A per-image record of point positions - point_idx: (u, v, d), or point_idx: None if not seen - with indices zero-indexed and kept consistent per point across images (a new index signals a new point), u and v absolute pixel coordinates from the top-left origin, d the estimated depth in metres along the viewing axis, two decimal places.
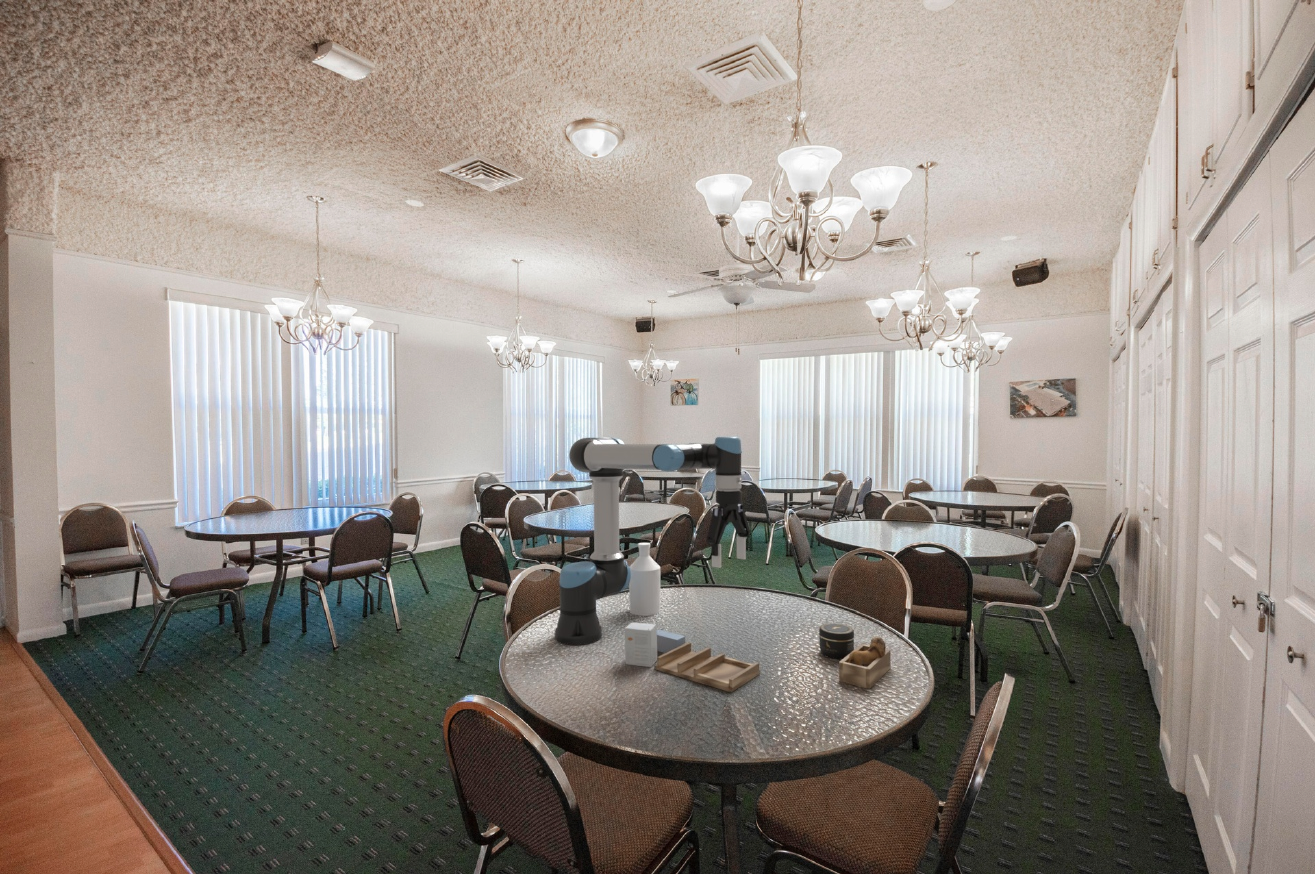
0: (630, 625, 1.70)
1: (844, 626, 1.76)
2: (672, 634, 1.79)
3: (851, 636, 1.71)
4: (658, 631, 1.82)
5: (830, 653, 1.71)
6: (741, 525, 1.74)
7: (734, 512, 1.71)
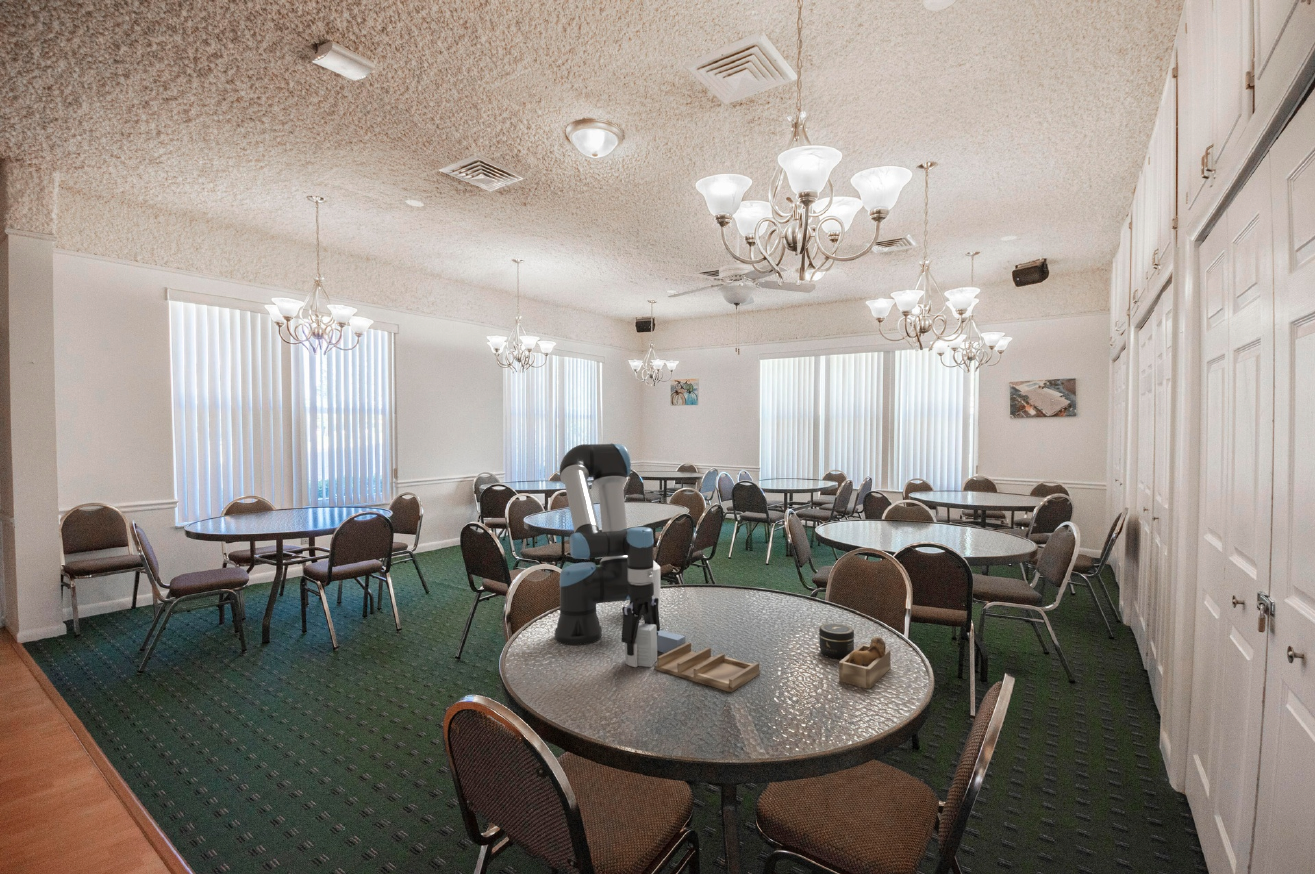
0: None
1: (844, 626, 1.76)
2: (672, 634, 1.79)
3: (851, 636, 1.71)
4: (658, 631, 1.82)
5: (830, 653, 1.71)
6: (651, 621, 1.71)
7: (646, 604, 1.69)
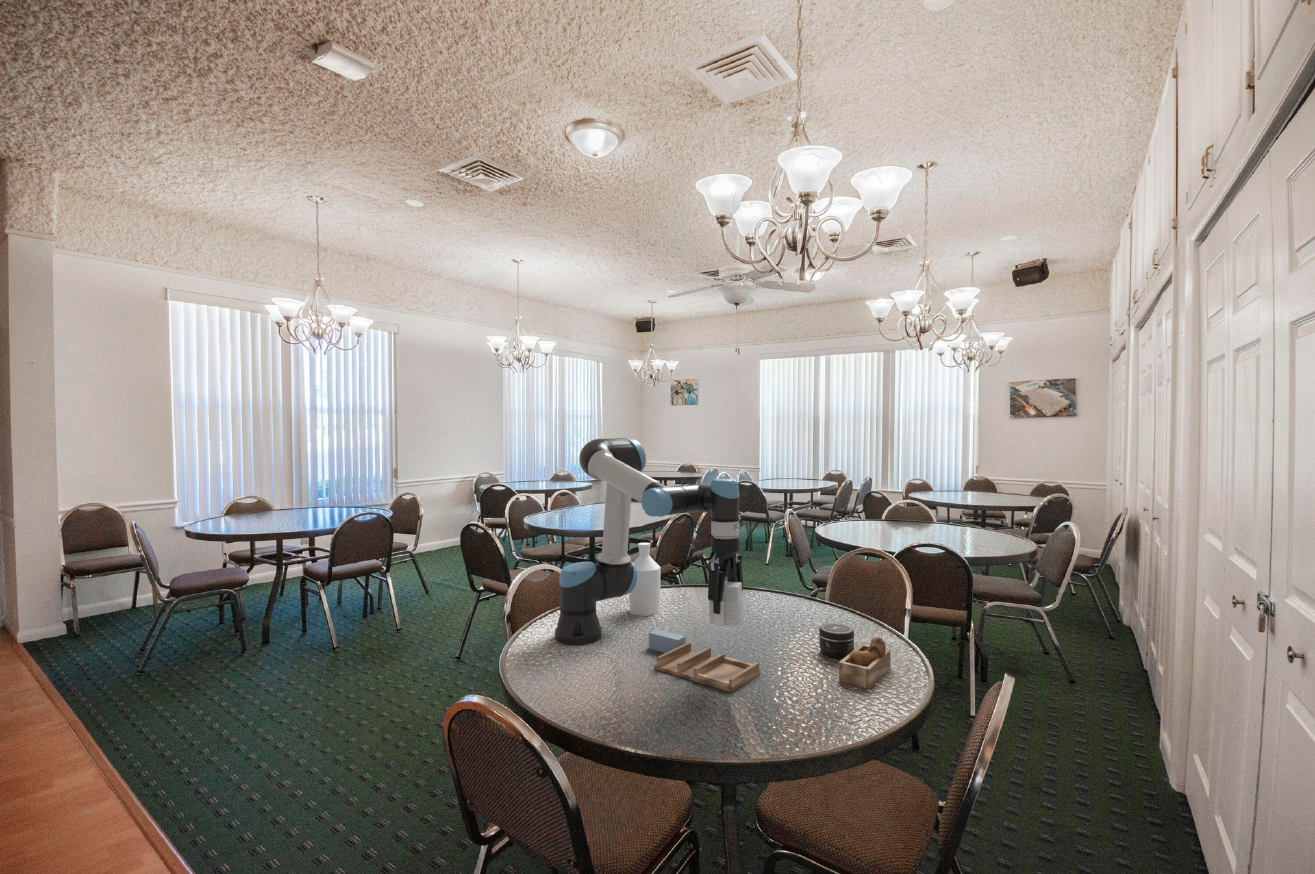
0: None
1: (844, 626, 1.76)
2: (672, 634, 1.79)
3: (851, 636, 1.71)
4: (658, 631, 1.82)
5: (830, 653, 1.71)
6: (736, 579, 1.60)
7: (731, 560, 1.58)
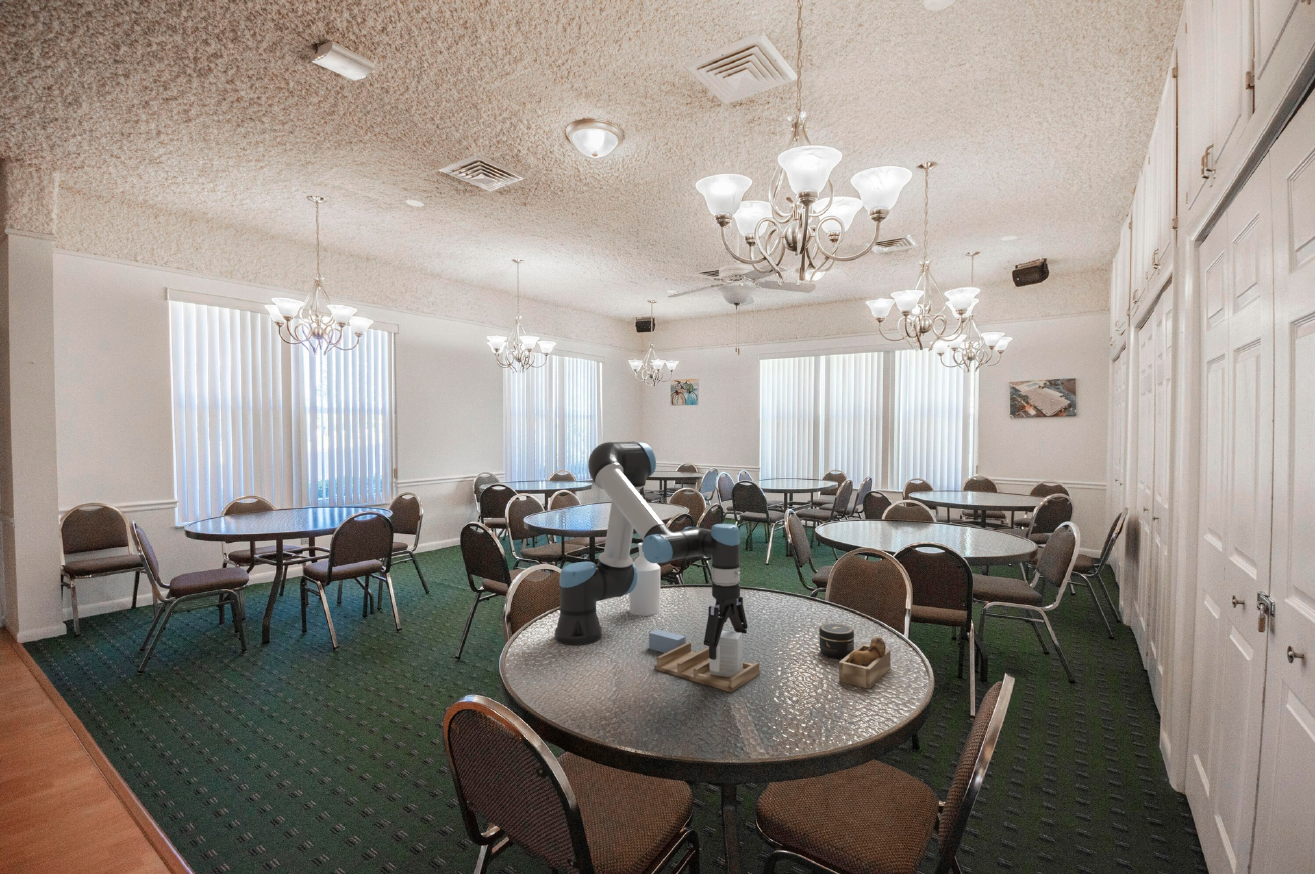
0: None
1: (844, 626, 1.76)
2: (672, 634, 1.79)
3: (851, 636, 1.71)
4: (658, 631, 1.82)
5: (830, 653, 1.71)
6: (738, 620, 1.62)
7: (732, 606, 1.58)
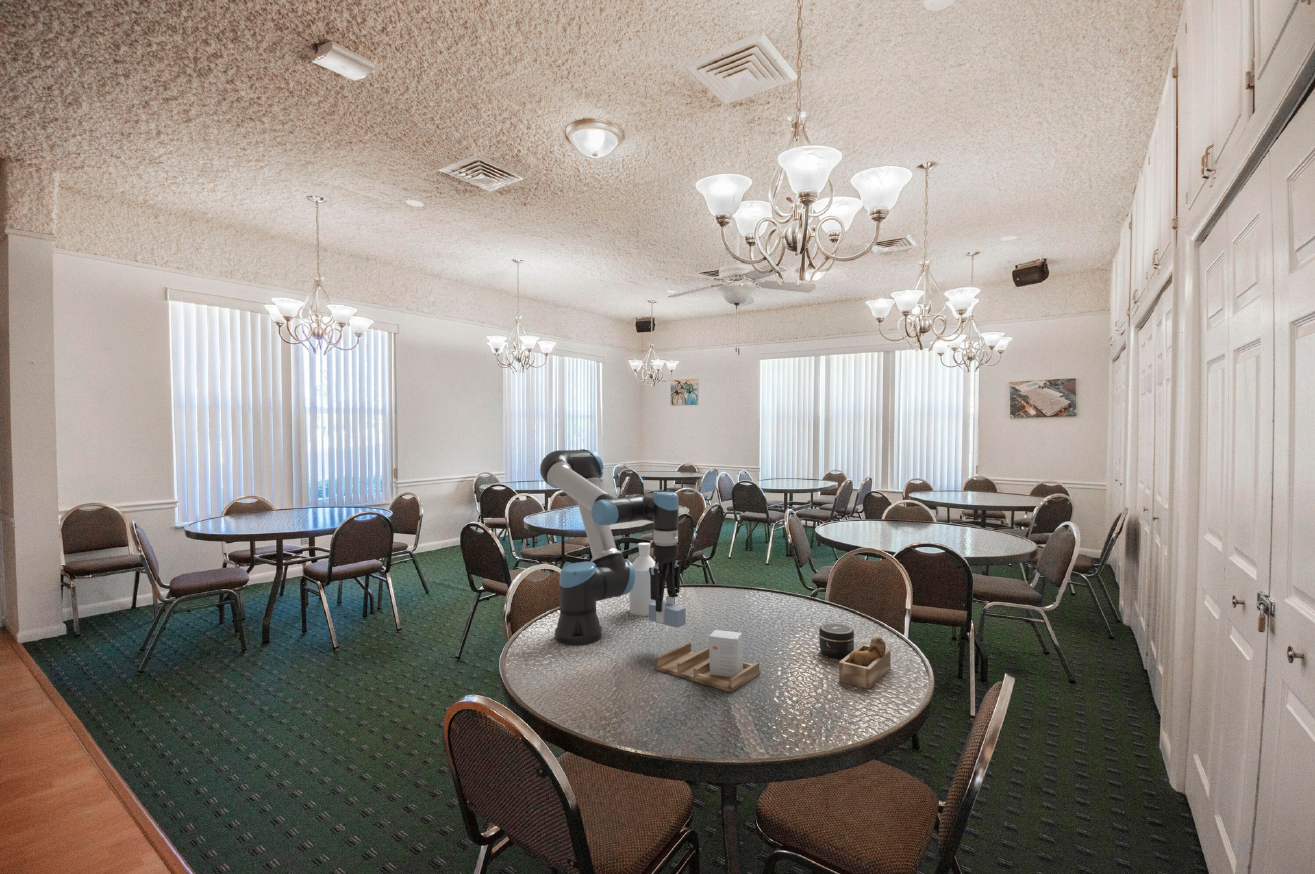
0: (714, 633, 1.60)
1: (844, 626, 1.76)
2: (672, 606, 1.79)
3: (851, 636, 1.71)
4: None
5: (830, 653, 1.71)
6: (673, 582, 1.80)
7: (670, 564, 1.79)
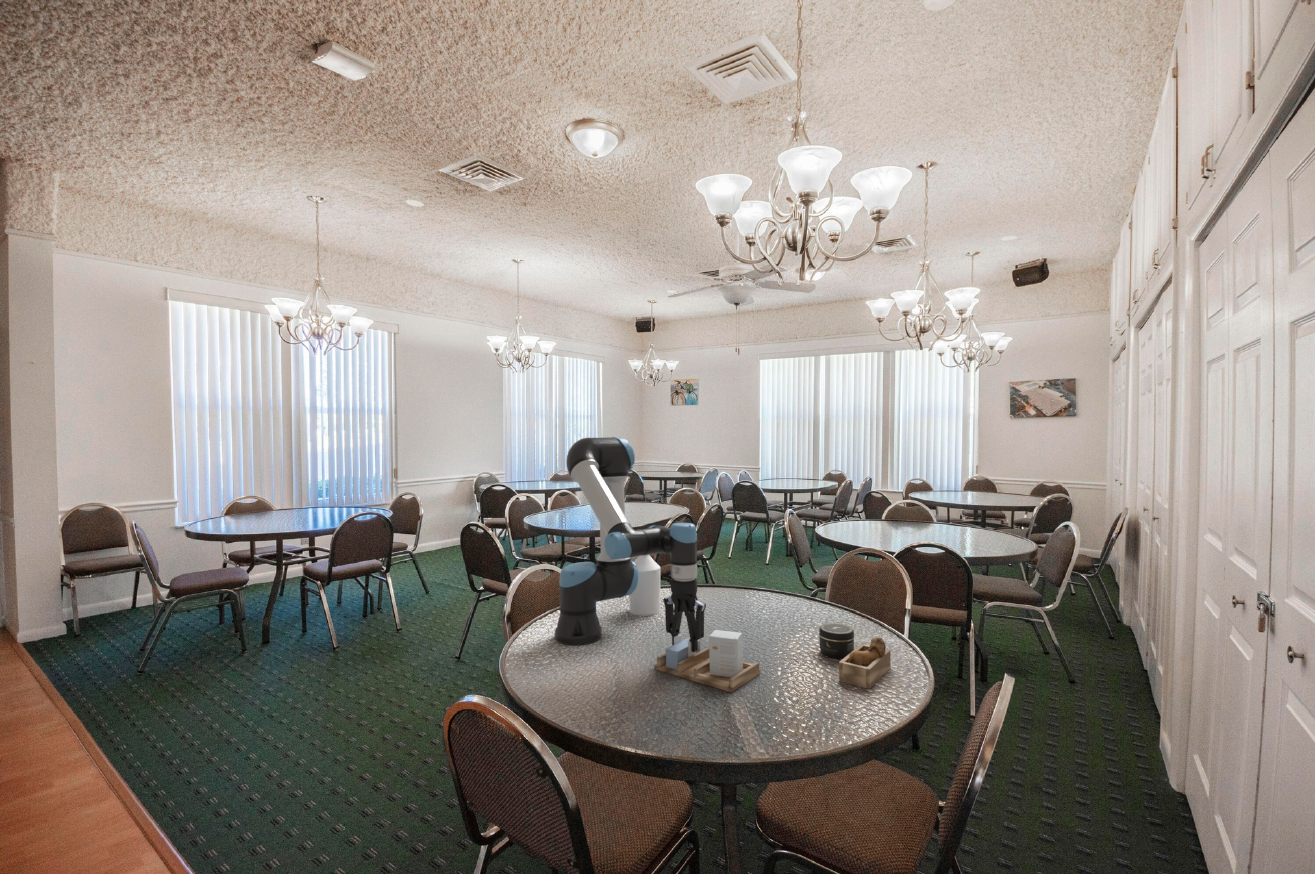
0: (714, 633, 1.60)
1: (844, 626, 1.76)
2: (683, 646, 1.65)
3: (851, 636, 1.71)
4: None
5: (830, 653, 1.71)
6: (689, 623, 1.65)
7: None
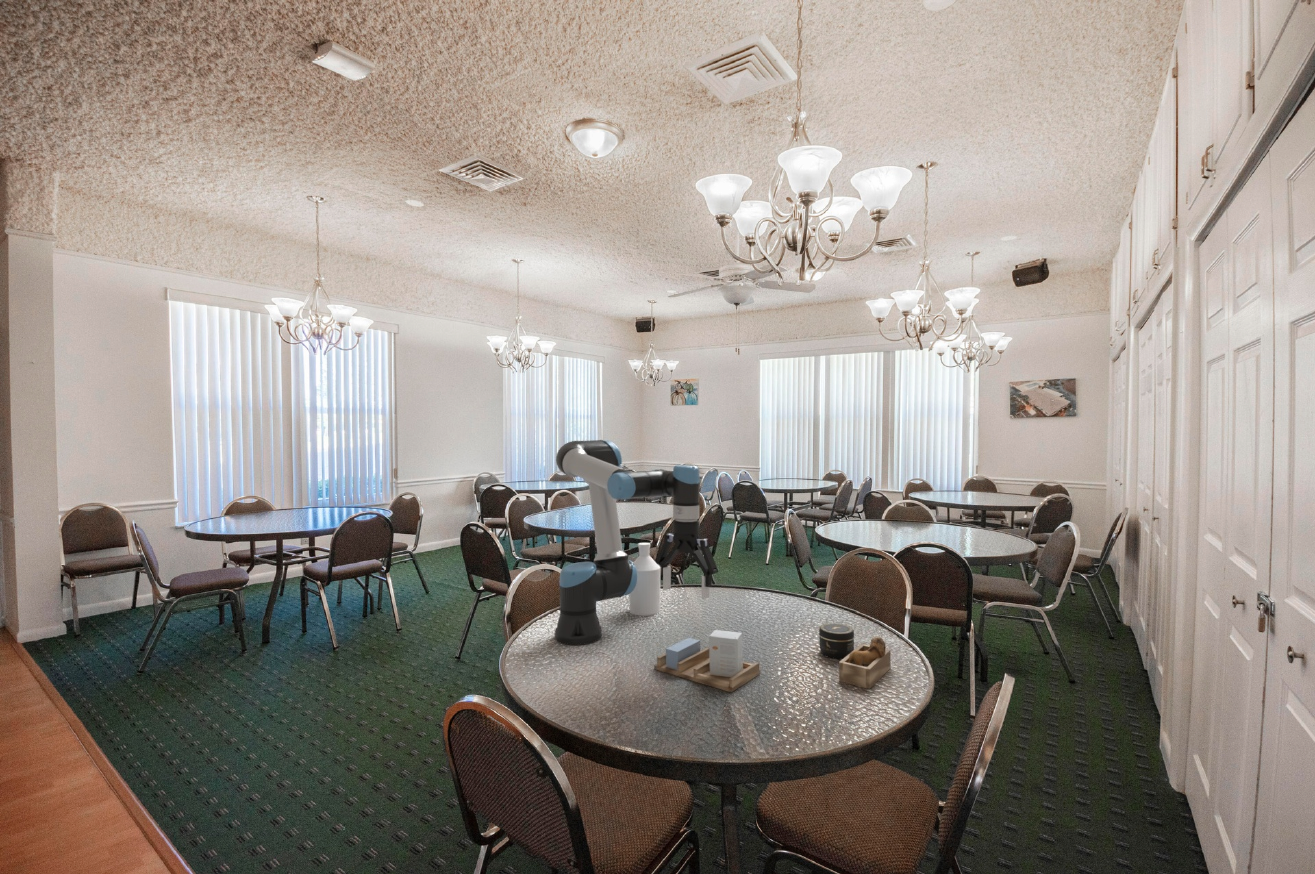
0: (714, 633, 1.60)
1: (844, 626, 1.76)
2: (683, 646, 1.65)
3: (851, 636, 1.71)
4: (692, 641, 1.69)
5: (830, 653, 1.71)
6: (698, 560, 1.64)
7: None
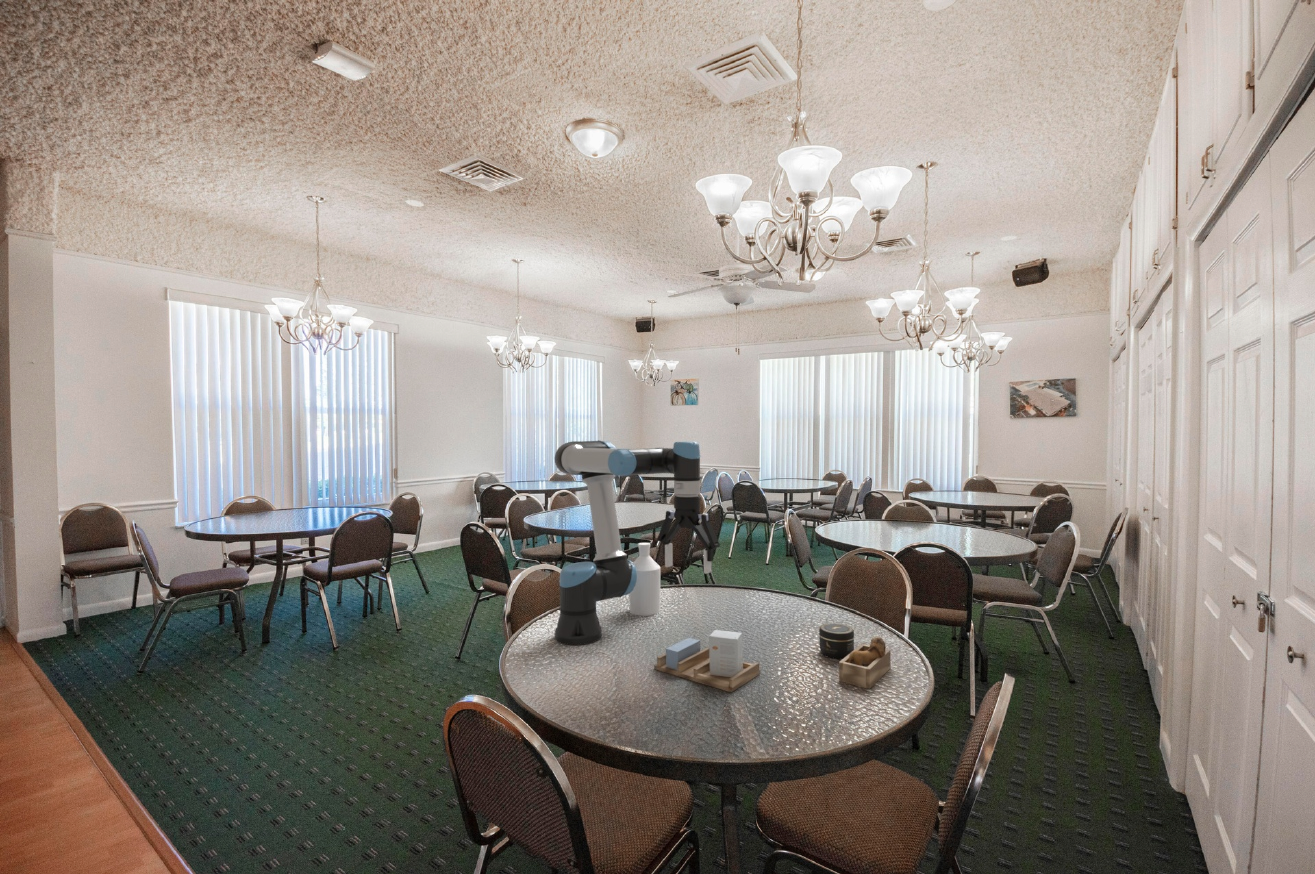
0: (714, 633, 1.60)
1: (844, 626, 1.76)
2: (683, 646, 1.65)
3: (851, 636, 1.71)
4: (692, 641, 1.69)
5: (830, 653, 1.71)
6: (699, 535, 1.65)
7: None
